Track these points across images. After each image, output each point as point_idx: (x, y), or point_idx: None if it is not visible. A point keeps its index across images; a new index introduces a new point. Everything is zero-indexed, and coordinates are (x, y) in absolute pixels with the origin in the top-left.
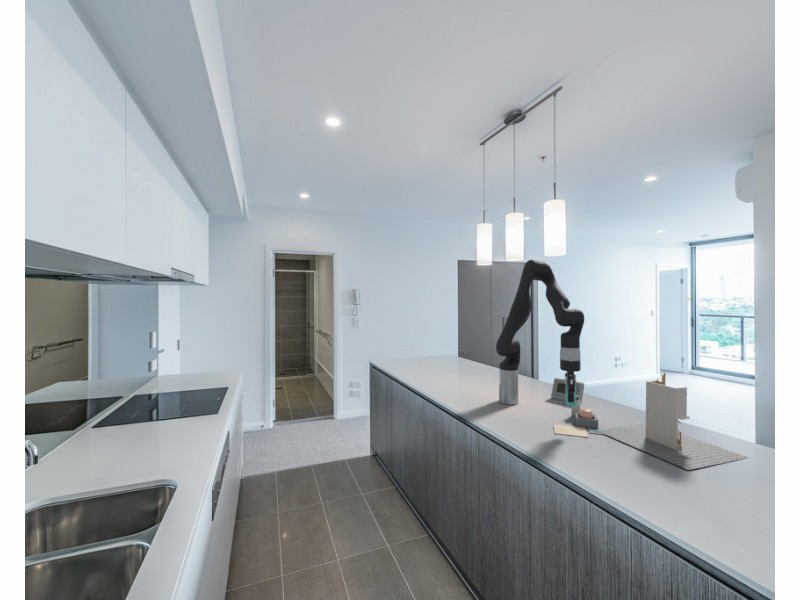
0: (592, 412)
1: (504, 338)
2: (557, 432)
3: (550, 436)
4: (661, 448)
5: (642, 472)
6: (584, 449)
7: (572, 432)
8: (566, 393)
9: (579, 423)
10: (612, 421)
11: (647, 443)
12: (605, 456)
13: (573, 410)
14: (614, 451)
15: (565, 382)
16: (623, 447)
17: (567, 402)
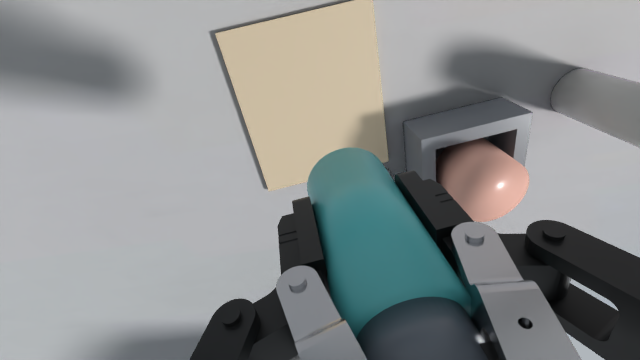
0: (475, 218)
1: None
2: (236, 47)
3: (150, 16)
4: (296, 356)
5: (59, 349)
6: (103, 198)
7: (288, 121)
8: (343, 229)
9: (410, 141)
10: (522, 230)
11: None
12: (97, 265)
13: (589, 92)
14: (178, 278)
15: (489, 317)
16: (242, 291)
17: (317, 181)
